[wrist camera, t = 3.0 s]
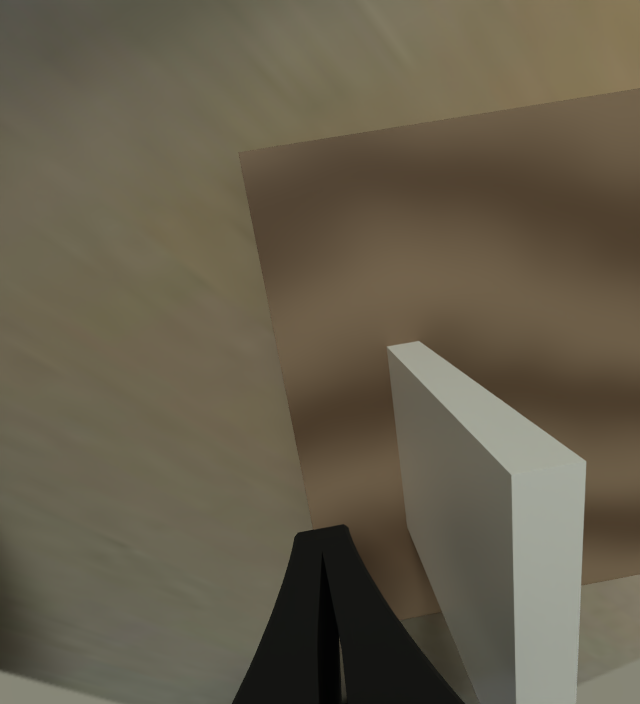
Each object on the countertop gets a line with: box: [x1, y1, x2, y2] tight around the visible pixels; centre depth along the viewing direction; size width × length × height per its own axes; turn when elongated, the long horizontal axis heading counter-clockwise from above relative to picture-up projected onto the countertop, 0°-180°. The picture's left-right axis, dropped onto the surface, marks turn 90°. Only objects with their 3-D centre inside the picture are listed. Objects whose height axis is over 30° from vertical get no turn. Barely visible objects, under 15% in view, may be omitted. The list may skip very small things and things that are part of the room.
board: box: [238, 88, 640, 620], centre depth 15 cm, size 20×15×1 cm
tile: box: [387, 341, 586, 704], centre depth 11 cm, size 8×1×8 cm, turn 9°
